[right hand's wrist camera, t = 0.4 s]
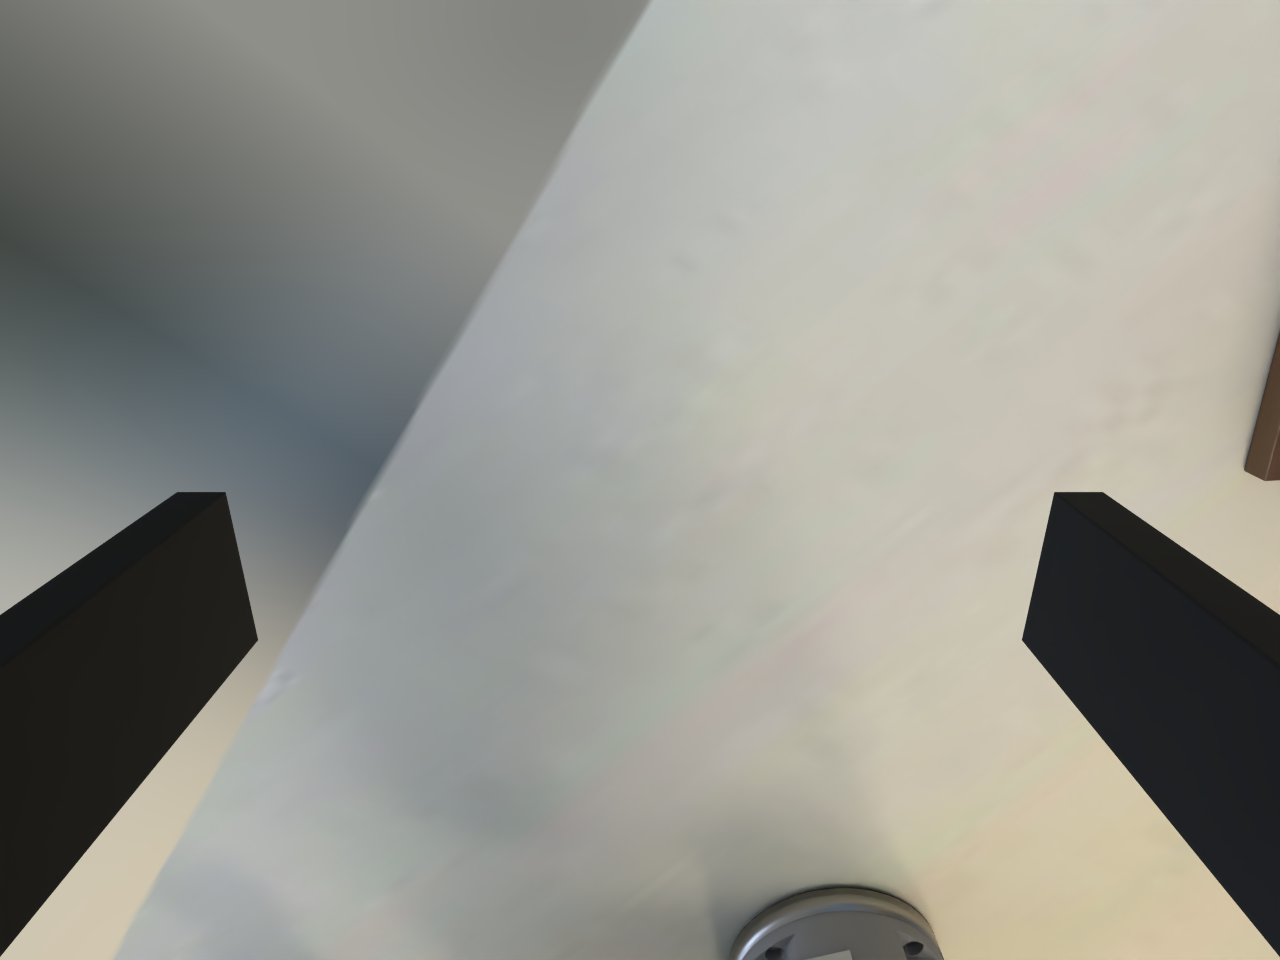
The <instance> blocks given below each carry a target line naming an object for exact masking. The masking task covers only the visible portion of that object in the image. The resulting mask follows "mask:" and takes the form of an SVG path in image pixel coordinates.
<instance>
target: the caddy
mask: <svg viewBox="0 0 1280 960" xmlns="http://www.w3.org/2000/svg"><path fill="white" fill-rule="evenodd" d="M1245 471H1246V472H1248V473H1250V474H1252V475H1254V476H1256V477H1258V478H1260V479H1262V480H1264V481H1273V480H1280V335H1279V338H1278V342H1277V346H1276V350H1275V354H1274V358H1273V362H1272V366H1271V370H1270V373H1269V377H1268V381H1267V385H1266V389H1265V393H1264V397H1263V401H1262V405H1261V408H1260V412H1259V416H1258V420H1257V424H1256V428H1255V432H1254V436H1253V440H1252V443H1251V447H1250V451H1249V455H1248V459H1247V463H1246V467H1245Z"/></svg>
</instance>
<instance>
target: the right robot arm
mask: <svg viewBox="0 0 1280 960" xmlns="http://www.w3.org/2000/svg"><path fill="white" fill-rule="evenodd" d="M257 641H258V638H257V633H256V629H255V624H254V619H253V615H252V610H251V606H250V601H249V597H248V592H247V588H246V583H245V579H244V574H243V570H242V565H241V560H240V556H239V551H238V547H237V542H236V538H235V533H234V528H233V524H232V519H231V515H230V510H229V506H228V501H227V497H226V493H225V492H177V493H175V494H174V495H172V496H171V497H170V498H168V499H167V500H165V501H164V502H162V503H161V504H160V505H158V506H157V507H155V508H154V509H152V510H151V511H149V512H148V513H147V514H145V515H144V516H142V517H141V518H139V519H138V520H137V521H135V522H134V523H132V524H131V525H129V526H128V527H126V528H125V529H124V530H122V531H121V532H119V533H118V534H116V535H115V536H113V537H112V538H111V539H109V540H108V541H106V542H105V543H103V544H102V545H100V546H99V547H98V548H96V549H95V550H93V551H92V552H90V553H89V554H87V555H86V556H85V557H83V558H82V559H80V560H79V561H77V562H76V563H75V564H73V565H72V566H70V567H69V568H67V569H66V570H64V571H63V572H62V573H60V574H59V575H57V576H56V577H54V578H53V579H51V580H50V581H49V582H47V583H46V584H44V585H43V586H41V587H40V588H38V589H37V590H36V591H34V592H33V593H31V594H30V595H29V596H27V597H26V598H24V599H23V600H21V601H20V602H18V603H17V604H15V605H14V606H13V607H11V608H10V609H8V610H7V611H5V612H4V613H2V614H1V615H0V956H1V955H2V954H3V953H4V951H5V950H6V949H7V948H8V946H9V945H10V944H11V943H12V942H13V940H14V939H15V938H16V937H17V936H18V934H19V933H20V932H21V931H22V929H23V928H24V927H25V926H26V924H27V923H28V922H29V921H30V920H31V918H32V917H33V916H34V915H35V913H36V912H37V911H38V910H39V908H40V907H41V906H42V905H43V904H44V902H45V901H46V900H47V899H48V897H49V896H50V895H51V894H52V893H53V891H54V890H55V889H56V888H57V886H58V885H59V884H60V883H61V881H62V880H63V879H64V878H65V876H66V875H67V874H68V873H69V872H70V870H71V869H72V868H73V867H74V865H75V864H76V863H77V862H78V861H79V859H80V858H81V857H82V856H83V854H84V853H85V852H86V851H87V849H88V848H89V847H90V846H91V845H92V843H93V842H94V841H95V840H96V838H97V837H98V836H99V835H100V834H101V832H102V831H103V830H104V829H105V827H106V826H107V825H108V824H109V822H110V821H111V820H112V819H113V818H114V816H115V815H116V814H117V813H118V811H119V810H120V809H121V808H122V807H123V805H124V804H125V803H126V802H127V800H128V799H129V798H130V797H131V795H132V794H133V793H134V792H135V791H136V789H137V788H138V787H139V786H140V784H141V783H142V782H143V781H144V780H145V778H146V777H147V776H148V775H149V773H150V772H151V771H152V770H153V768H154V767H155V766H156V765H157V763H158V762H159V761H160V760H161V759H162V757H163V756H164V755H165V754H166V752H167V751H168V750H169V749H170V748H171V746H172V745H173V744H174V743H175V741H176V740H177V739H178V738H179V736H180V735H181V734H182V733H183V732H184V730H185V729H186V728H187V727H188V725H189V724H190V723H191V722H192V721H193V719H194V718H195V717H196V716H197V714H198V713H199V712H200V711H201V710H202V708H203V707H204V706H205V705H206V703H207V702H208V701H209V700H210V698H211V697H212V696H213V695H214V694H215V692H216V691H217V690H218V689H219V687H220V686H221V685H222V684H223V682H224V681H225V680H226V679H227V678H228V676H229V675H230V674H231V673H232V671H233V670H234V669H235V668H236V666H237V665H238V664H239V663H240V662H241V660H242V659H243V658H244V657H245V655H246V654H247V653H248V652H249V650H250V649H251V648H252V647H253V646H254V644H255V643H256V642H257ZM1022 641H1023V642H1024V643H1025V644H1026V646H1027V647H1028V648H1029V649H1030V651H1031V652H1032V653H1033V654H1034V655H1035V657H1036V658H1037V659H1038V660H1039V662H1040V663H1041V664H1042V665H1043V667H1044V668H1045V669H1046V670H1047V671H1048V673H1049V674H1050V675H1051V676H1052V678H1053V679H1054V680H1055V681H1056V683H1057V684H1058V685H1059V686H1060V687H1061V689H1062V690H1063V691H1064V692H1065V694H1066V695H1067V696H1068V697H1069V698H1070V700H1071V701H1072V702H1073V703H1074V705H1075V706H1076V707H1077V708H1078V710H1079V711H1080V712H1081V713H1082V714H1083V716H1084V717H1085V718H1086V719H1087V721H1088V722H1089V723H1090V724H1091V725H1092V727H1093V728H1094V729H1095V730H1096V732H1097V733H1098V734H1099V735H1100V737H1101V738H1102V739H1103V740H1104V741H1105V743H1106V744H1107V745H1108V746H1109V748H1110V749H1111V750H1112V751H1113V753H1114V754H1115V755H1116V756H1117V757H1118V759H1119V760H1120V761H1121V762H1122V764H1123V765H1124V766H1125V767H1126V768H1127V770H1128V771H1129V772H1130V773H1131V775H1132V776H1133V777H1134V778H1135V780H1136V781H1137V782H1138V783H1139V784H1140V786H1141V787H1142V788H1143V789H1144V791H1145V792H1146V793H1147V794H1148V795H1149V797H1150V798H1151V799H1152V800H1153V802H1154V803H1155V804H1156V805H1157V807H1158V808H1159V809H1160V810H1161V811H1162V813H1163V814H1164V815H1165V816H1166V818H1167V819H1168V820H1169V821H1170V823H1171V824H1172V825H1173V826H1174V827H1175V829H1176V830H1177V831H1178V832H1179V834H1180V835H1181V836H1182V837H1183V838H1184V840H1185V841H1186V842H1187V843H1188V845H1189V846H1190V847H1191V848H1192V850H1193V851H1194V852H1195V853H1196V854H1197V856H1198V857H1199V858H1200V859H1201V861H1202V862H1203V863H1204V864H1205V865H1206V867H1207V868H1208V869H1209V870H1210V872H1211V873H1212V874H1213V875H1214V877H1215V878H1216V879H1217V880H1218V881H1219V883H1220V884H1221V885H1222V886H1223V888H1224V889H1225V890H1226V891H1227V893H1228V894H1229V895H1230V896H1231V897H1232V899H1233V900H1234V901H1235V902H1236V904H1237V905H1238V906H1239V907H1240V908H1241V910H1242V911H1243V912H1244V913H1245V915H1246V916H1247V917H1248V918H1249V920H1250V921H1251V922H1252V923H1253V924H1254V926H1255V927H1256V928H1257V929H1258V931H1259V932H1260V933H1261V934H1262V936H1263V937H1264V938H1265V939H1266V940H1267V942H1268V943H1269V944H1270V945H1271V947H1272V948H1273V949H1274V950H1275V951H1276V953H1277V954H1278V955H1279V956H1280V615H1279V614H1278V613H1276V612H1275V611H1273V610H1272V609H1270V608H1269V607H1267V606H1266V605H1265V604H1263V603H1262V602H1260V601H1259V600H1257V599H1256V598H1254V597H1253V596H1252V595H1250V594H1249V593H1247V592H1246V591H1244V590H1243V589H1242V588H1240V587H1239V586H1237V585H1236V584H1234V583H1233V582H1231V581H1230V580H1229V579H1227V578H1226V577H1224V576H1223V575H1221V574H1220V573H1218V572H1217V571H1216V570H1214V569H1213V568H1211V567H1210V566H1208V565H1207V564H1205V563H1204V562H1203V561H1201V560H1200V559H1198V558H1197V557H1195V556H1194V555H1193V554H1191V553H1190V552H1188V551H1187V550H1185V549H1184V548H1182V547H1181V546H1180V545H1178V544H1177V543H1175V542H1174V541H1172V540H1171V539H1169V538H1168V537H1167V536H1165V535H1164V534H1162V533H1161V532H1159V531H1158V530H1157V529H1155V528H1154V527H1152V526H1151V525H1149V524H1148V523H1146V522H1145V521H1144V520H1142V519H1141V518H1139V517H1138V516H1136V515H1135V514H1133V513H1132V512H1131V511H1129V510H1128V509H1126V508H1125V507H1123V506H1122V505H1120V504H1119V503H1118V502H1116V501H1115V500H1113V499H1112V498H1110V497H1109V496H1108V495H1106V494H1105V493H1103V492H1054V497H1053V501H1052V506H1051V510H1050V515H1049V519H1048V524H1047V528H1046V533H1045V538H1044V542H1043V547H1042V551H1041V556H1040V560H1039V565H1038V569H1037V574H1036V579H1035V583H1034V588H1033V592H1032V597H1031V601H1030V606H1029V610H1028V615H1027V619H1026V624H1025V629H1024V633H1023V638H1022ZM729 960H944V958H943V956H942V953H941V951H940V948H939V945H938V943H937V940H936V938H935V935H934V933H933V930H932V929H931V927H930V925H929V924H928V923H927V921H926V920H925V919H924V918H923V917H922V916H921V915H920V914H919V913H918V912H917V911H916V910H915V909H913V908H912V907H910V906H909V905H907V904H906V903H904V902H902V901H900V900H898V899H896V898H894V897H891V896H889V895H885V894H882V893H879V892H874V891H870V890H863V889H854V888H832V889H823V890H816V891H811V892H807V893H803V894H799V895H796V896H793V897H791V898H788V899H785V900H783V901H781V902H779V903H777V904H775V905H773V906H771V907H769V908H768V909H766V910H765V911H763V912H762V913H760V914H759V915H758V916H756V917H755V918H754V919H753V920H752V921H751V922H750V923H749V924H748V925H747V926H746V927H745V928H744V929H743V930H742V932H741V933H740V934H739V936H738V938H737V939H736V941H735V943H734V945H733V947H732V950H731V953H730V959H729Z"/></svg>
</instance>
